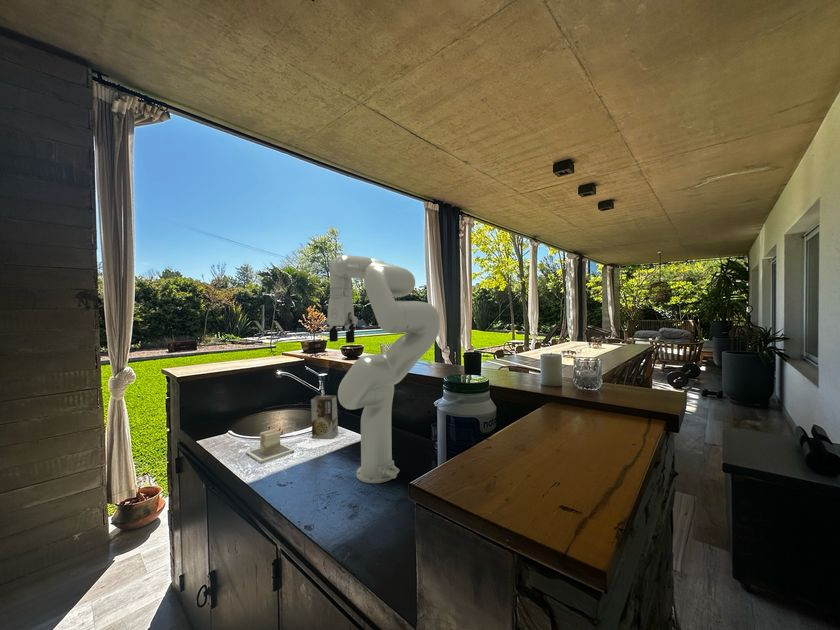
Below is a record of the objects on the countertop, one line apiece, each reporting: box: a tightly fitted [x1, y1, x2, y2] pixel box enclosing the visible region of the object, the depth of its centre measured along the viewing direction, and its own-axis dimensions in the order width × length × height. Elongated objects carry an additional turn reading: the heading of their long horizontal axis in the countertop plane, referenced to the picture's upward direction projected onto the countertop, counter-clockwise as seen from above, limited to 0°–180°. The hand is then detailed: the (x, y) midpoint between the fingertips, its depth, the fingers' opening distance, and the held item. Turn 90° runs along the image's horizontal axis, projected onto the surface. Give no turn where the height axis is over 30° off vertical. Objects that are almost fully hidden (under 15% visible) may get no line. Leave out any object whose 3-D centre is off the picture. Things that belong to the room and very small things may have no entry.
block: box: [259, 428, 281, 456], centre depth 124 cm, size 5×5×7 cm
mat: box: [245, 442, 295, 464], centre depth 124 cm, size 12×12×1 cm
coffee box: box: [310, 394, 339, 439], centre depth 141 cm, size 9×6×16 cm
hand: (341, 342), depth 121 cm, fingers open, 9 cm apart
